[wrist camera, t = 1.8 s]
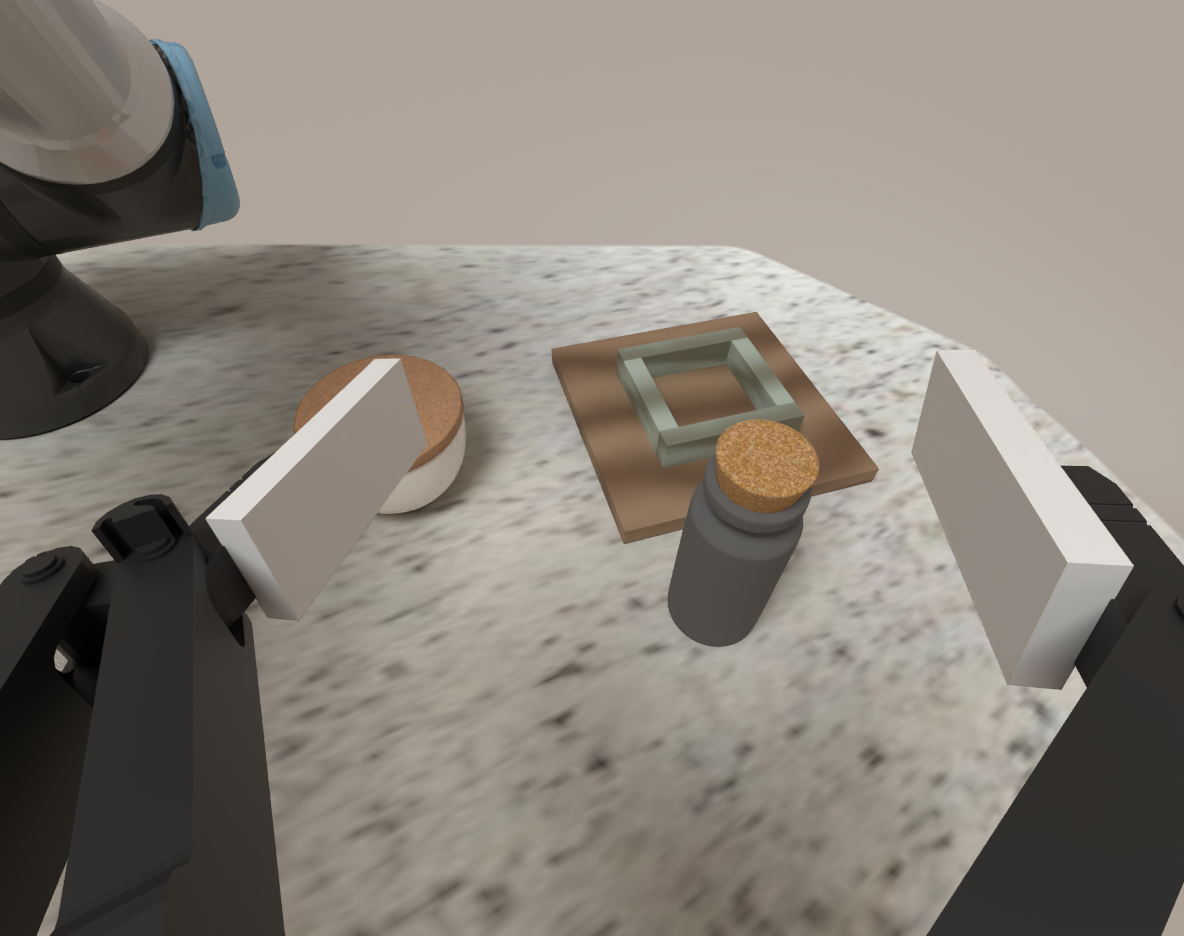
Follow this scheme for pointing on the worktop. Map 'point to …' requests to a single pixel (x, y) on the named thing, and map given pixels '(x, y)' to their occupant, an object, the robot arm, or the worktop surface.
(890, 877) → the worktop surface
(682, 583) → the bottle
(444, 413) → the lidded jar
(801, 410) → the socket board
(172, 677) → the robot arm
